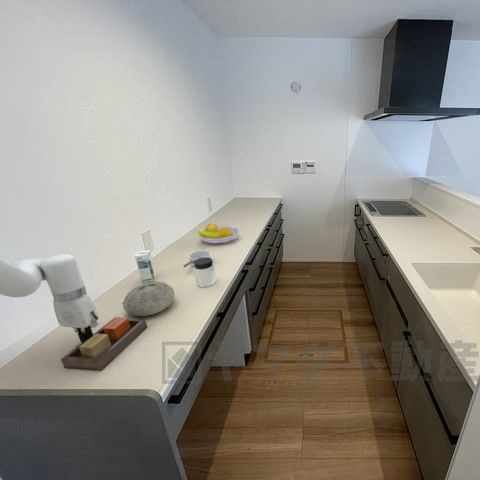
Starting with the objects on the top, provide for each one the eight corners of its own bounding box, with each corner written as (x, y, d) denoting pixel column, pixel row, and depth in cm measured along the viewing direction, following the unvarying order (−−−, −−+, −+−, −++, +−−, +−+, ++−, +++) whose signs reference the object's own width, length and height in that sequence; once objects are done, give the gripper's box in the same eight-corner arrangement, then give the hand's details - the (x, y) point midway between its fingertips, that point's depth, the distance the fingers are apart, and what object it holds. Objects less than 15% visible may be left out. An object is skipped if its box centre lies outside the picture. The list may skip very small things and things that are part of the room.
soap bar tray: (64, 368, 80) (57, 352, 78) (117, 325, 98) (112, 311, 96) (101, 371, 79) (95, 355, 77) (147, 327, 98) (143, 313, 95)
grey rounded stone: (115, 316, 103) (108, 294, 100) (153, 293, 119) (149, 273, 116) (150, 325, 98) (144, 302, 95) (185, 299, 114) (181, 279, 111)
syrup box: (141, 283, 127) (134, 256, 122) (143, 277, 132) (136, 251, 127) (155, 281, 130) (148, 254, 124) (156, 275, 135) (150, 249, 130)
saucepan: (175, 274, 136) (173, 265, 134) (197, 258, 154) (195, 250, 152) (196, 276, 135) (194, 266, 133) (215, 260, 153) (214, 251, 151)
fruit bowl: (236, 232, 200) (235, 217, 196) (242, 244, 177) (240, 228, 173) (196, 236, 190) (194, 221, 186) (196, 250, 166) (194, 233, 162)
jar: (219, 282, 129) (216, 260, 125) (204, 289, 123) (200, 266, 119) (208, 277, 134) (205, 255, 130) (193, 283, 128) (189, 261, 123)
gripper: (35, 298, 79) (56, 346, 86) (81, 301, 78) (98, 349, 85) (60, 285, 86) (77, 331, 93) (102, 288, 85) (117, 333, 92)
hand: (87, 339), depth 89 cm, fingers closed
